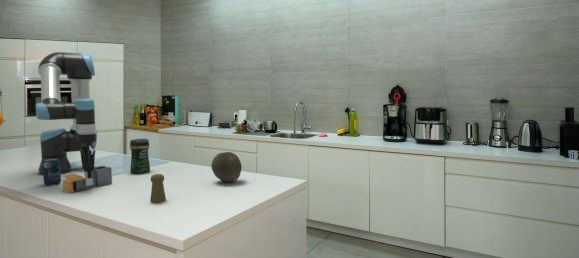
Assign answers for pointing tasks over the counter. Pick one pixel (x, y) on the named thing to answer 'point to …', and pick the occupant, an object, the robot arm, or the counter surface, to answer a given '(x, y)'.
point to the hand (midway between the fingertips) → (89, 184)
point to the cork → (157, 189)
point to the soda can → (51, 172)
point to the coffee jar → (139, 156)
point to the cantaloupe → (226, 166)
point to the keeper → (70, 182)
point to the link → (95, 179)
